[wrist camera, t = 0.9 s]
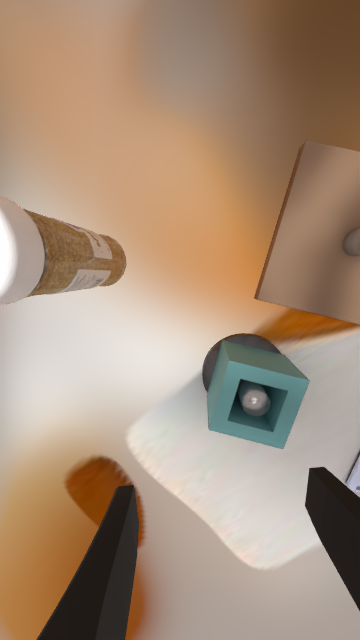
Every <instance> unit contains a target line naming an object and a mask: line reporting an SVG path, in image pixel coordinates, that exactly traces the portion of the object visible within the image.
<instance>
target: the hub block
mask: <svg viewBox="0 0 360 640" xmlns="http://www.w3.org/2000/svg"><path fill="white" fill-rule="evenodd" d="M254 298H255V299H257V300H261V301H265V302H269V303H273V304H278V305H281V306H285V307H290V308H294V309H298V310H302V311H306V312H310V313H314V314H319V315H323V316H327V317H331V318H335V319H339V320H344V321H348V322H352V323H356V324H360V152H358V151H354V150H349V149H344V148H340V147H335V146H330V145H325V144H321V143H317V142H312V141H307V140H306V141H305V142H304V144H303V145H302V146H301V147H300V149H299V152H298V155H297V159H296V162H295V165H294V168H293V172H292V175H291V178H290V182H289V185H288V188H287V191H286V195H285V198H284V202H283V205H282V208H281V211H280V215H279V218H278V221H277V225H276V228H275V231H274V234H273V238H272V241H271V244H270V248H269V251H268V254H267V257H266V261H265V264H264V267H263V271H262V274H261V277H260V281H259V284H258V287H257V290H256V294H255V297H254Z"/></svg>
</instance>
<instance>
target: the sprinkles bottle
mask: <svg viewBox="0 0 360 640" xmlns="http://www.w3.org/2000/svg"><path fill="white" fill-rule="evenodd" d="M125 268H126V257H125V254H124V251H123V249H122V247H121V246H120V245H119V244H118V243H117V241H115V240H114V239H112V238H111V237H109V236H105V235H99V234H96V233H94V232H92V231H89V230H86V229H83V228H80V227H77V226H74V225H71V224H68V223H65V222H63V221H60V220H57V219H54V218H48V217H46V216H43V215H39V214H36V213H34V212H30V211H27V210H25V209H22V208H21V207H20V206H18V205H17V204H16V203H15V202H13V201H11V200H9V199H7V198H5V197H3V196H0V305H3V304H10V303H14V302H16V301H19V300H21V299H23V298H25V297H29V296H34V295H42V294H56V293H62V292H69V291H75V290H81V289H87V288H94V287H97V286H109V285H112V284H114V283H116V282H117V281H118V280H119V279H120V278H121V276H122V275H123V274H124V271H125Z"/></svg>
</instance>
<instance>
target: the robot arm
mask: <svg viewBox="0 0 360 640" xmlns="http://www.w3.org/2000/svg"><path fill="white" fill-rule="evenodd" d="M357 486H358V487H357ZM351 490H352V491H356V492H359V493H360V455H359V457H358V460H357V462H356V464H355V466H354V468H353V470H352V472H351V474H350V477H349V479H348V481H347V486H346V485H344V484H343V483H342V482H341V481H340V480H339V479H338V478H336V477H335V476H334V475H333V474H332V473H331V472H329V471H328V470H327V469H326V468H325V467H318V468H310V469H309V477H308V485H307V494H306V502H305V507H306V509H307V511H308V514H309V516H310V518H311V521H312V523H313V525H314V527H315V530H316V532H317V534H318V536H319V538H320V540H321V542H322V544H323V546H324V547H325V549H326V551H327V553H328V555H329V557H330V558H331V560H332V562H333V563H334V566H335V567H336V569H337V571H338V573H339V574H340V576H341V578H342V580H343V582H344V584H345V585H346V587H347V589H348V591H349V593H350V594H351V596H352V598H353V600H354V601H355V603H356V605H357V607H358V609H359V610H360V498H359V497H358V496H357V495H356V494H355V493H354V492H352V491H351ZM138 530H139V519H138V512H137V505H136V498H135V490H134V485H129V486H119V487H118V488H117V489H116V490H115V493H114V495H113V498H112V500H111V503H110V505H109V507H108V509H107V512H106V514H105V516H104V518H103V520H102V523H101V525H100V527H99V529H98V531H97V533H96V535H95V537H94V539H93V541H92V543H91V545H90V547H89V549H88V551H87V553H86V555H85V557H84V559H83V561H82V562H81V564H80V566H79V568H78V570H77V571H76V574H75V575H74V577H73V579H72V581H71V583H70V584H69V586H68V588H67V590H66V591H65V593H64V595H63V597H62V598H61V600H60V602H59V604H58V605H57V607H56V609H55V610H54V612H53V614H52V615H51V617H50V619H49V620H48V622H47V624H46V625H45V627H44V628H43V630H42V632H41V633H40V635H39V636H38V638H37V640H125V636H126V630H127V623H128V616H129V609H130V602H131V595H132V588H133V581H134V574H135V566H136V558H137V547H138Z"/></svg>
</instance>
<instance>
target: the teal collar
mask: <svg viewBox="0 0 360 640" xmlns="http://www.w3.org/2000/svg"><path fill="white" fill-rule="evenodd" d="M240 379H243V380H247V381H251V382H255V383H259V384H262V386H263V388H264V390H265V392H266V394H267V395H268V397H269V399H270V408H269V410H268V411H267V412H266V413H265V414H263V415H261V416H251V415H249V414H247V413H246V412H245V411H244V409H243V407H242V404H241V401H240V398H239V394H238V392H236V391H237V388H238V385H239V382H240ZM309 381H310V380H309V379H308V378H307V377H306V376H305V375H304V374H303V373H302V372H301V371H300V370H299V369H298V368H297V367H296V366H295V365H294V364H293V363H292V362H291V361H290V360H289V359H288V358H287V357H286V356H285V355H281V354H277V353H273V352H269V351H265V350H261V349H257V348H253V347H249V346H245V345H241V344H237V343H233V342H229V341H225V340H222V344H221V347H220V351H219V354H218V358H217V361H216V365H215V368H214V372H213V375H212V379H211V382H210V386H209V389H208V393H207V408H208V426H209V430H212V431H216V432H220V433H223V434H227V435H231V436H235V437H239V438H242V439H246V440H250V441H254V442H258V443H262V444H265V445H269V446H273V447H277V448H281V449H284V446H285V443H286V441H287V438H288V436H289V433H290V430H291V428H292V425H293V423H294V420H295V417H296V415H297V412H298V410H299V407H300V404H301V402H302V399H303V397H304V394H305V391H306V389H307V386H308V384H309Z"/></svg>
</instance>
